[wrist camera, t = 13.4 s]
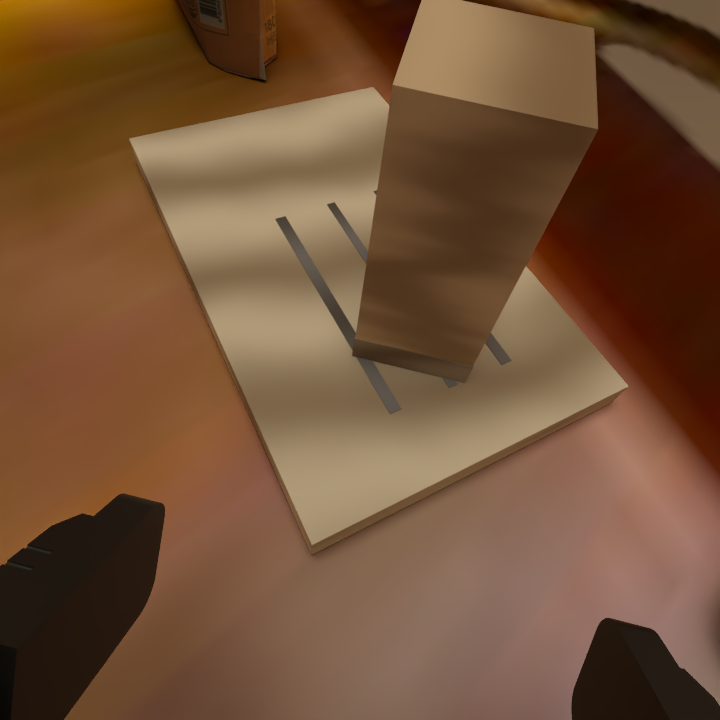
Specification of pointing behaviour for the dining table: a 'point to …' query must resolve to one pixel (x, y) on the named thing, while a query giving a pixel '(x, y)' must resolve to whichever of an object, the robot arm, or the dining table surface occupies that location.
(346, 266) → the birch board
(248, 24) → the pancake mix bag
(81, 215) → the dining table surface
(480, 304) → the tan tall block
